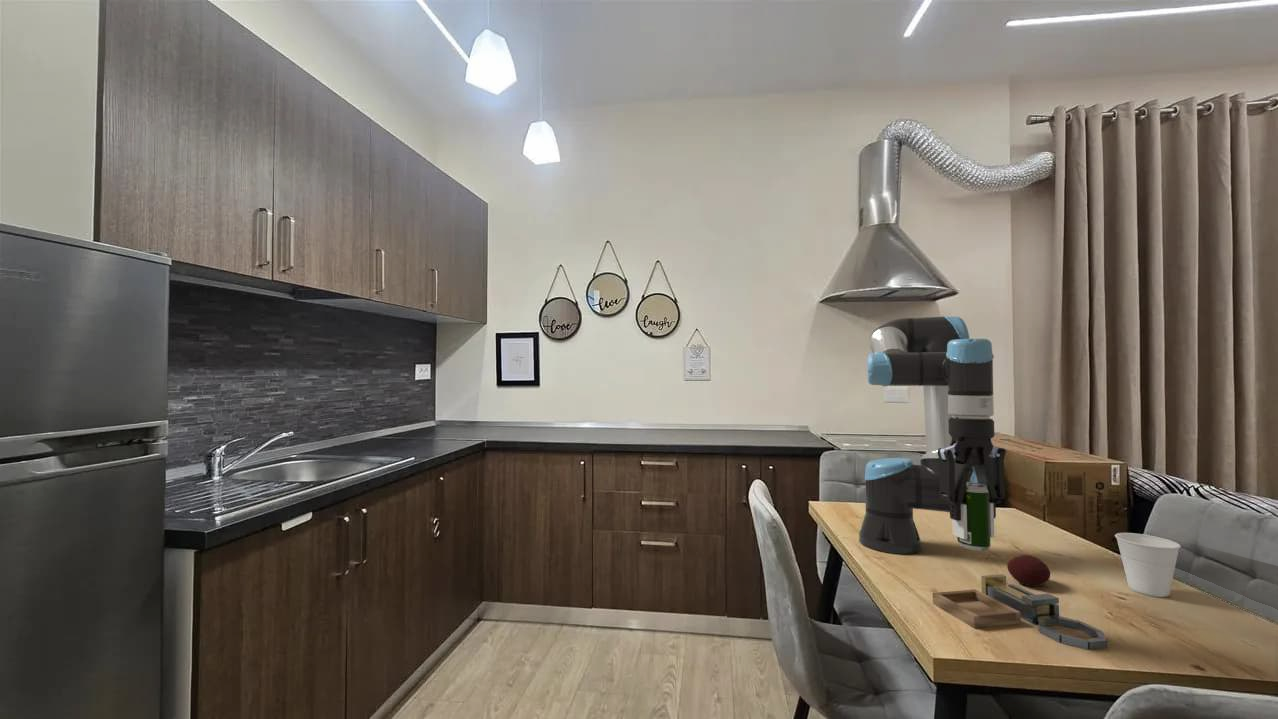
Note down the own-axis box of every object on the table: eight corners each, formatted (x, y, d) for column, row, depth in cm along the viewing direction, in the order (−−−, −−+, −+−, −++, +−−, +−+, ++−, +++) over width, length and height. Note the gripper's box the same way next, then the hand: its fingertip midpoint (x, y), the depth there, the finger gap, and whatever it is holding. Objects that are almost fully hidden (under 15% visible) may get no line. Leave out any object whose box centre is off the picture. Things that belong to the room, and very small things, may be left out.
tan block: (981, 595, 103) (981, 575, 103) (1002, 593, 104) (1001, 574, 104) (1032, 620, 92) (1031, 599, 92) (1054, 618, 93) (1053, 597, 93)
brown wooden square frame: (932, 603, 100) (932, 592, 100) (975, 599, 102) (975, 589, 102) (974, 628, 90) (974, 616, 90) (1020, 623, 92) (1020, 612, 92)
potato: (999, 580, 112) (999, 553, 112) (1023, 574, 115) (1023, 548, 115) (1037, 593, 105) (1036, 565, 105) (1061, 586, 108) (1060, 559, 108)
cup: (1167, 586, 108) (1165, 536, 108) (1194, 605, 99) (1192, 550, 99) (1107, 579, 112) (1106, 530, 113) (1129, 596, 103) (1127, 543, 104)
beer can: (983, 553, 93) (981, 488, 93) (952, 544, 97) (951, 483, 97) (995, 547, 96) (994, 485, 96) (964, 540, 100) (963, 480, 100)
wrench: (981, 601, 101) (981, 580, 101) (1019, 598, 102) (1018, 577, 102) (1076, 651, 83) (1075, 625, 83) (1120, 646, 84) (1119, 620, 84)
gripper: (944, 419, 92) (947, 545, 91) (1028, 417, 95) (1031, 539, 94) (915, 416, 99) (917, 532, 98) (993, 415, 103) (996, 527, 102)
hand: (973, 535), depth 96 cm, fingers closed on beer can, 5 cm apart
